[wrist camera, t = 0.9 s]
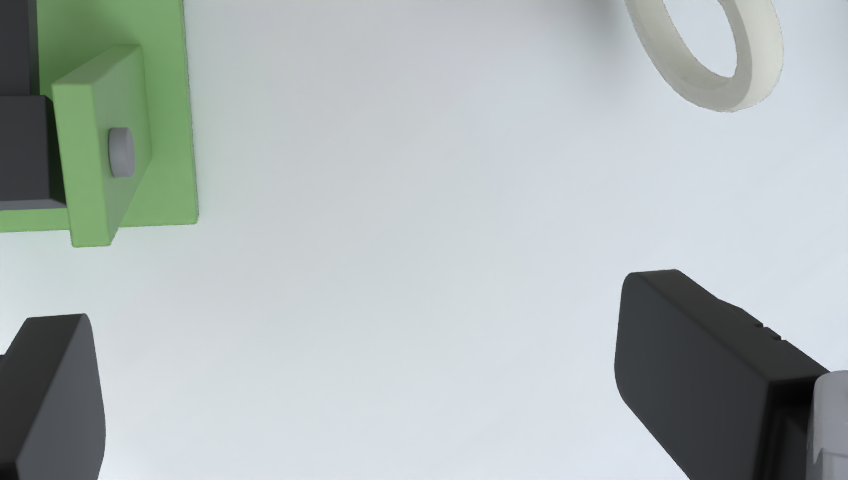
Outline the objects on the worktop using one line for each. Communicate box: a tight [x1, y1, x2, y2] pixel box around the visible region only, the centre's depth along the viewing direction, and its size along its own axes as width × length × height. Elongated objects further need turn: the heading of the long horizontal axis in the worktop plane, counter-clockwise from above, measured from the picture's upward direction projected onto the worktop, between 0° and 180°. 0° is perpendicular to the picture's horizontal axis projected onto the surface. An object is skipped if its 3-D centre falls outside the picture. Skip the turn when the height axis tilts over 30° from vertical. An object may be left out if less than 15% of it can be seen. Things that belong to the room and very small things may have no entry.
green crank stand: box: [0, 0, 199, 248], centre depth 26 cm, size 10×8×12 cm
